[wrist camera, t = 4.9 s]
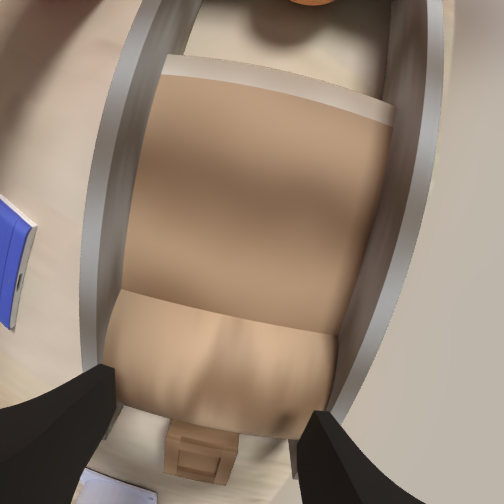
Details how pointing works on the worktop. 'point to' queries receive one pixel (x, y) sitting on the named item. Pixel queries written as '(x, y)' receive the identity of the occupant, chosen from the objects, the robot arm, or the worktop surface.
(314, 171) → the lane
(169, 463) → the brown wooden crate
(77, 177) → the worktop surface
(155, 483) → the worktop surface
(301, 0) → the ball
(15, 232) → the hard drive
